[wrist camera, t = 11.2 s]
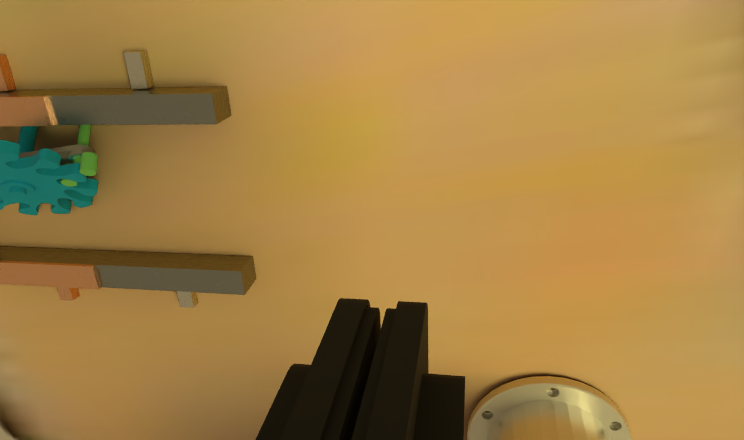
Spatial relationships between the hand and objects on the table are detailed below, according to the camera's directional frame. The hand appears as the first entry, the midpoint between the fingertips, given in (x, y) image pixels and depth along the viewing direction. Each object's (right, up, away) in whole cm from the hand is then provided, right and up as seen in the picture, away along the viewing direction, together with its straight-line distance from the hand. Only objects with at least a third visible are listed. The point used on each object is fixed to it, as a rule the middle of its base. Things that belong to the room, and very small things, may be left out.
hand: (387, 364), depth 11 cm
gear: (-24, +7, +32) cm, 41 cm away
